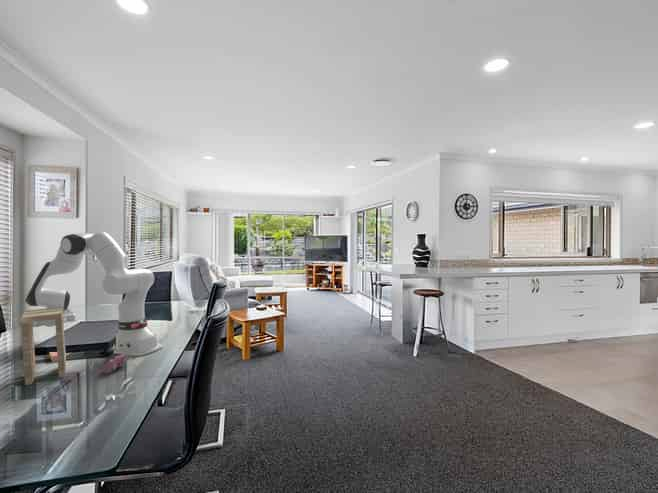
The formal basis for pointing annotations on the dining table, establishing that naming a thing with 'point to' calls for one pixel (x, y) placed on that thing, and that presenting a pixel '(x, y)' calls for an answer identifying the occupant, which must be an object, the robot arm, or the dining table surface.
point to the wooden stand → (29, 339)
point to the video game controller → (114, 363)
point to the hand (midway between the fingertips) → (49, 323)
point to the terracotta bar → (53, 356)
